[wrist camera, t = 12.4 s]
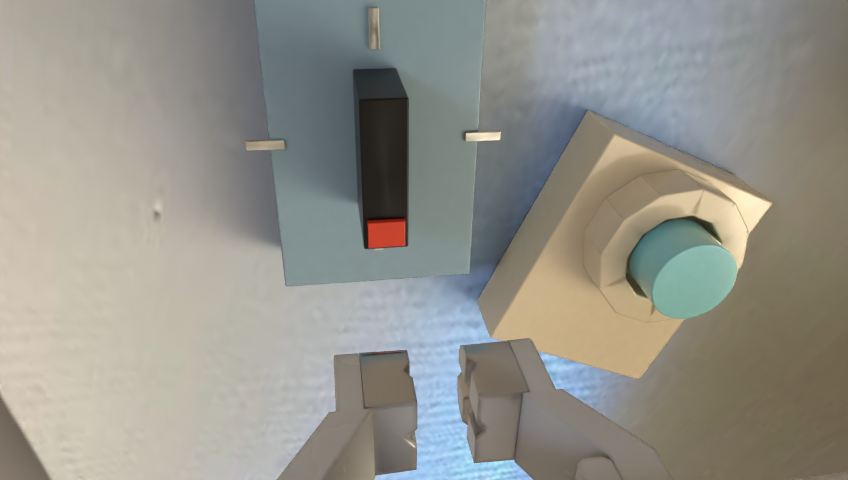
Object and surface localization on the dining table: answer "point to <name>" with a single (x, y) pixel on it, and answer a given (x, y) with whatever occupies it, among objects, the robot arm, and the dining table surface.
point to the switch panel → (335, 130)
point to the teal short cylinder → (682, 269)
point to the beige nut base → (608, 246)
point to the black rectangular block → (382, 157)
